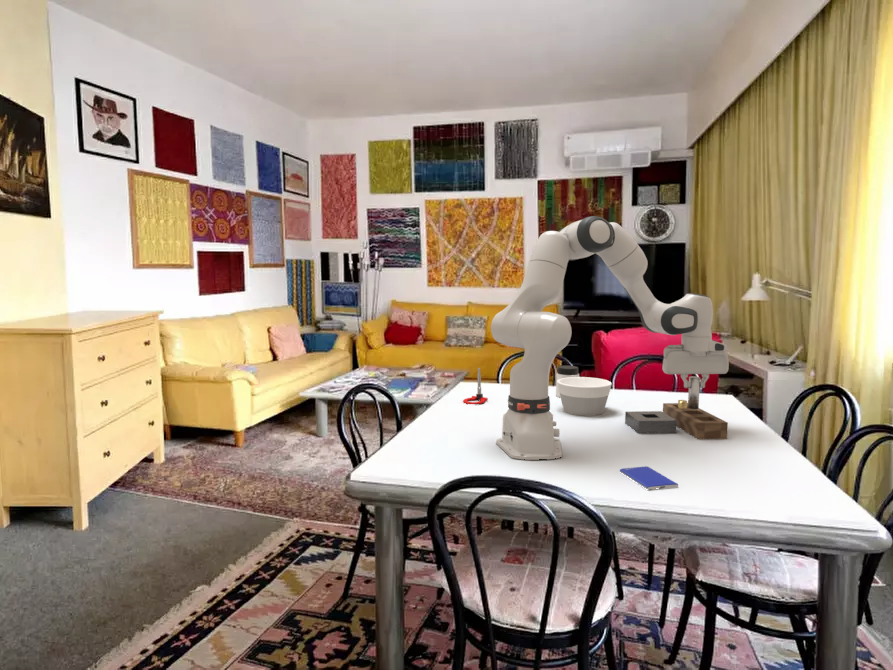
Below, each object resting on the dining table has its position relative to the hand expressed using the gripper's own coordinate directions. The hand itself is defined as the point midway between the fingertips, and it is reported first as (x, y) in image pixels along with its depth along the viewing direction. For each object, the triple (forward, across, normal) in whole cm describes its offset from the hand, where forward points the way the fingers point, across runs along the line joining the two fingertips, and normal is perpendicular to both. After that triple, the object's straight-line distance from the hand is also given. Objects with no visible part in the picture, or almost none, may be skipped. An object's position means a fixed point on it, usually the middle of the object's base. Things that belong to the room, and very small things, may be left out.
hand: (694, 387), depth 188 cm
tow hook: (+14, -67, +40) cm, 79 cm away
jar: (+13, -29, +48) cm, 58 cm away
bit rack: (+13, 0, 0) cm, 13 cm away
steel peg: (+7, 0, 0) cm, 7 cm away
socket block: (+13, -14, 0) cm, 19 cm away
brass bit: (+13, 0, +8) cm, 15 cm away
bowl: (+13, -29, +24) cm, 40 cm away
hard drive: (+14, -32, -46) cm, 58 cm away
